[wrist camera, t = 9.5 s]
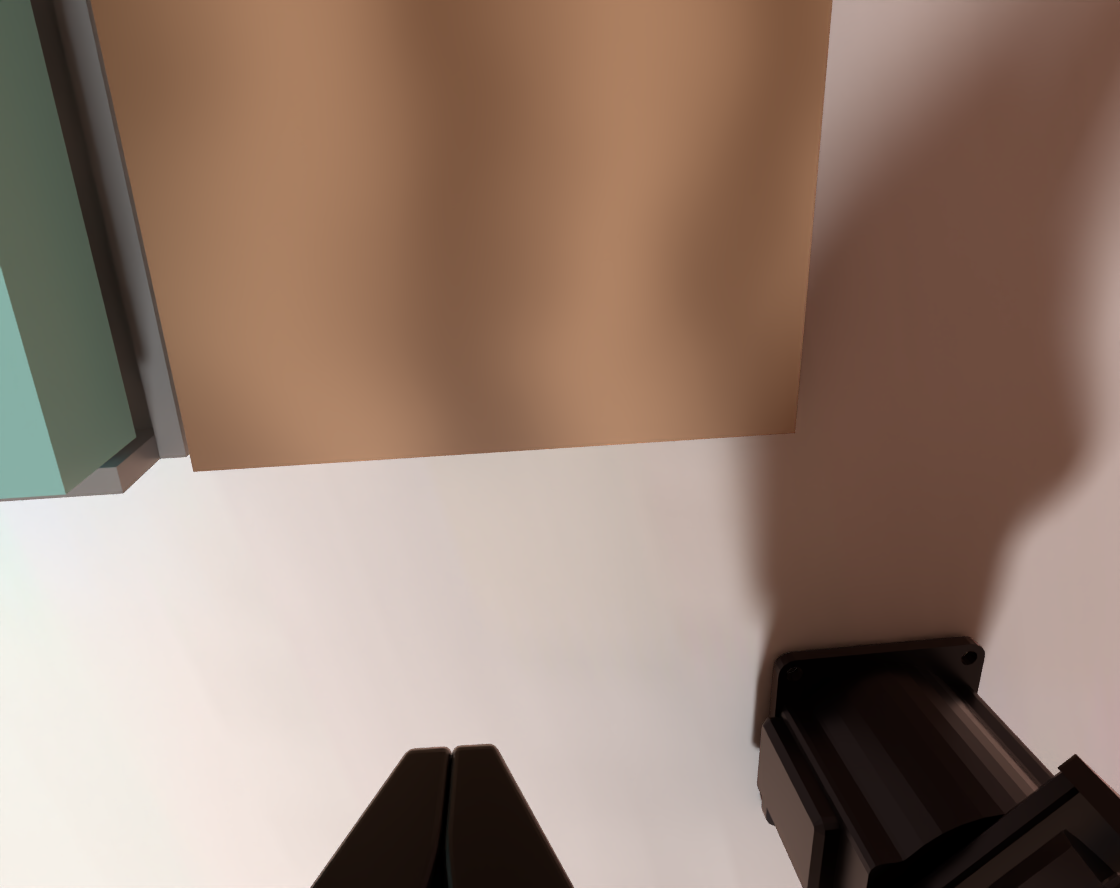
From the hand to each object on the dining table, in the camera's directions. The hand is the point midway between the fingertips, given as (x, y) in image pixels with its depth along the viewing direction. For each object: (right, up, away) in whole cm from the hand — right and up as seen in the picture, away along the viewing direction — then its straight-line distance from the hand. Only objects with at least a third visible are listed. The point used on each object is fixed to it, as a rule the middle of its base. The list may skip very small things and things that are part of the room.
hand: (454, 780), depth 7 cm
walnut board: (-1, +10, +10) cm, 14 cm away
